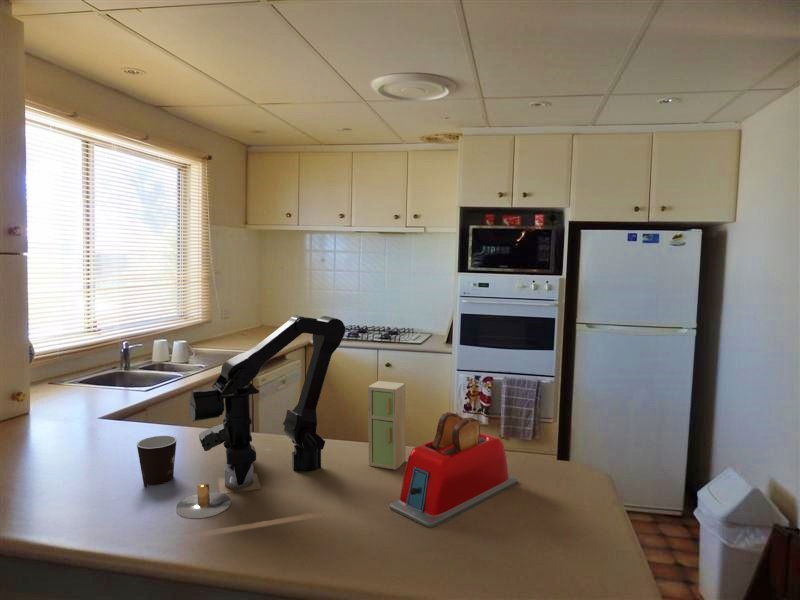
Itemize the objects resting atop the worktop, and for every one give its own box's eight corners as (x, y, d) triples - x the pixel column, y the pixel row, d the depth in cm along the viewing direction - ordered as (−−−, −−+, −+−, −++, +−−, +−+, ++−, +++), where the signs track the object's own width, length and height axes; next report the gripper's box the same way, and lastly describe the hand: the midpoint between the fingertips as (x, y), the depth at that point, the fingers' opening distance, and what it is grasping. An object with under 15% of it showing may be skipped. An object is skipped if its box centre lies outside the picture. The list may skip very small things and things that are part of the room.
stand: (256, 476, 135) (256, 454, 134) (261, 491, 126) (260, 468, 126) (218, 481, 132) (217, 459, 131) (220, 497, 123) (219, 474, 123)
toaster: (430, 531, 110) (431, 439, 108) (386, 509, 119) (387, 424, 117) (519, 483, 132) (522, 407, 131) (477, 468, 141) (478, 396, 140)
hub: (229, 494, 125) (228, 472, 124) (232, 516, 115) (232, 492, 114) (176, 501, 121) (176, 479, 120) (175, 525, 111) (174, 500, 110)
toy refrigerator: (366, 466, 141) (366, 386, 139) (378, 456, 148) (378, 380, 146) (395, 471, 138) (395, 389, 136) (405, 461, 145) (406, 383, 143)
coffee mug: (163, 492, 126) (161, 449, 125) (130, 488, 127) (128, 446, 126) (192, 471, 137) (191, 432, 136) (161, 468, 139) (160, 430, 138)
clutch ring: (251, 475, 133) (251, 459, 133) (254, 486, 127) (254, 469, 127) (224, 479, 131) (223, 463, 130) (225, 490, 125) (225, 473, 124)
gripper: (199, 406, 133) (201, 468, 135) (201, 430, 116) (203, 501, 117) (247, 402, 137) (248, 462, 139) (255, 424, 120) (257, 493, 121)
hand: (239, 478), depth 129 cm, fingers closed on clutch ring, 6 cm apart
